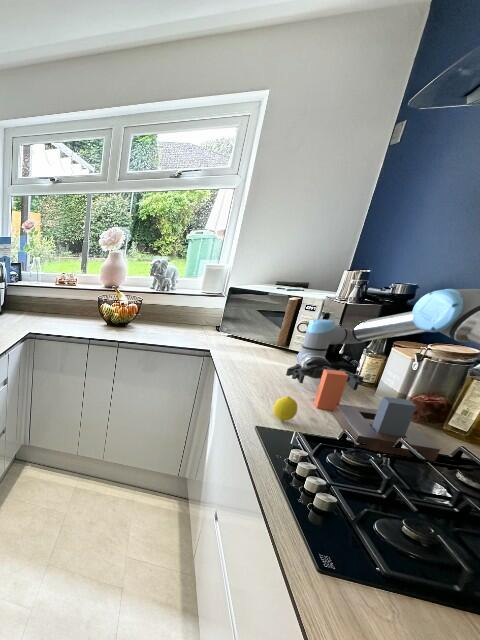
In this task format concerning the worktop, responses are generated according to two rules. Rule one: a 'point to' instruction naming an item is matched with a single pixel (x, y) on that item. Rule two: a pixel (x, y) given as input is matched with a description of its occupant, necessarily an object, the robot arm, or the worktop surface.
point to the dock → (362, 431)
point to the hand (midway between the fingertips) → (328, 382)
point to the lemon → (285, 408)
